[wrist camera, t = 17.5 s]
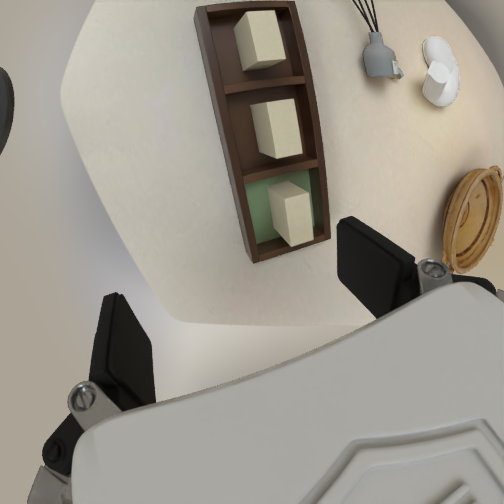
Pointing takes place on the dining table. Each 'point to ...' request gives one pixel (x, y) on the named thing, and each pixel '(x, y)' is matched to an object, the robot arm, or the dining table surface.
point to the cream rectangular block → (291, 212)
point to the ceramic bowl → (471, 218)
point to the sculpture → (440, 72)
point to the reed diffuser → (379, 52)
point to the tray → (242, 126)
